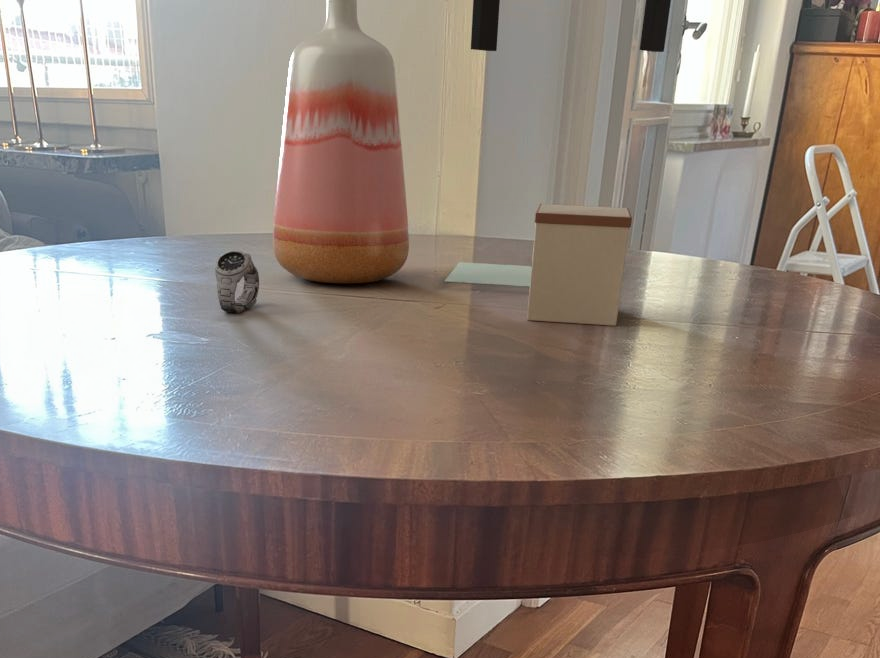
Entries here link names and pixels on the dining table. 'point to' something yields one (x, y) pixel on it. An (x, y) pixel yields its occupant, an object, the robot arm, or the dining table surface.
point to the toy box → (578, 263)
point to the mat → (491, 274)
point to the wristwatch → (236, 281)
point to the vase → (341, 159)
